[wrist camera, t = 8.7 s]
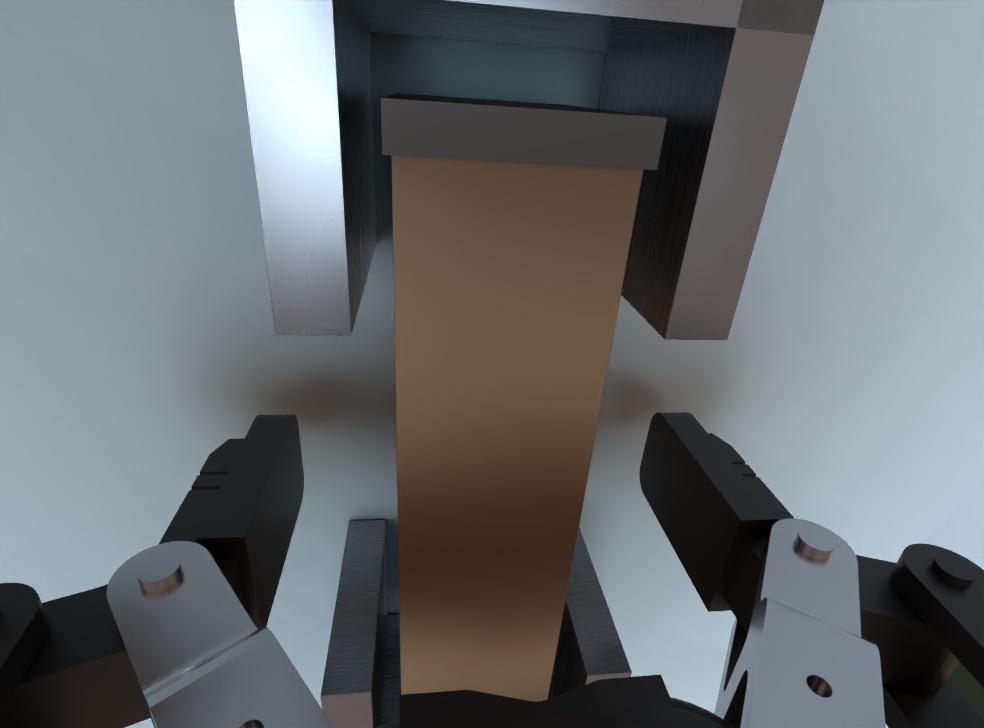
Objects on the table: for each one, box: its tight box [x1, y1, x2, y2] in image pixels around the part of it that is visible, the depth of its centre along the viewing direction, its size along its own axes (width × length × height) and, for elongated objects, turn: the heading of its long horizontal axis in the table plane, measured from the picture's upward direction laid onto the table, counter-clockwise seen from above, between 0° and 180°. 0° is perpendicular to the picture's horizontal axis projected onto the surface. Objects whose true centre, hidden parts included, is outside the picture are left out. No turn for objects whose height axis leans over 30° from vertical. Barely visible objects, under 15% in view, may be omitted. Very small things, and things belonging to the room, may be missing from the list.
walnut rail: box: [381, 93, 667, 718], centre depth 12 cm, size 14×3×5 cm, turn 176°
